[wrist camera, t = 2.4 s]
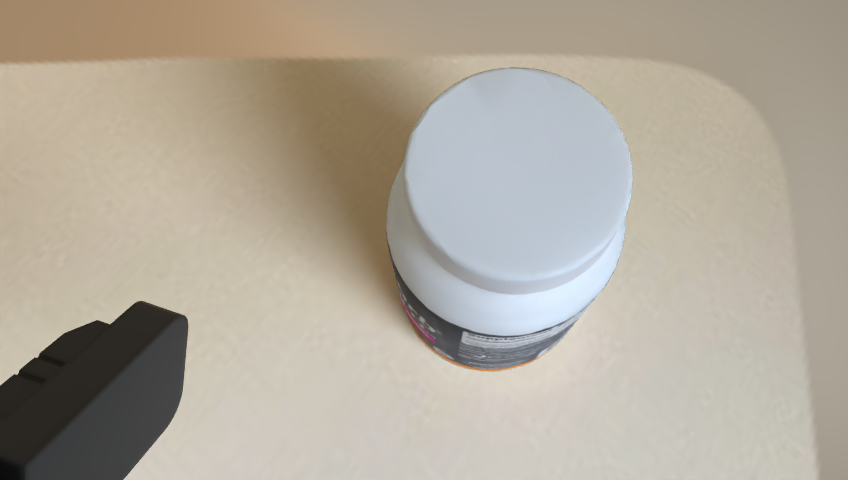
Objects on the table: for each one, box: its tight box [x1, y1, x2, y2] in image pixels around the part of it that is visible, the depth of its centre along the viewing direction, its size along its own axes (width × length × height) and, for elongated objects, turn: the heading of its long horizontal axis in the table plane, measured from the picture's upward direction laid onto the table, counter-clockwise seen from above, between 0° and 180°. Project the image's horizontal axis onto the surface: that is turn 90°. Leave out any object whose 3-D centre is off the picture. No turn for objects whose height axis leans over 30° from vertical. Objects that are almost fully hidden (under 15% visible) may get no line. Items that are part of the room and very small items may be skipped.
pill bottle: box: [386, 67, 633, 372], centre depth 21 cm, size 6×6×10 cm
